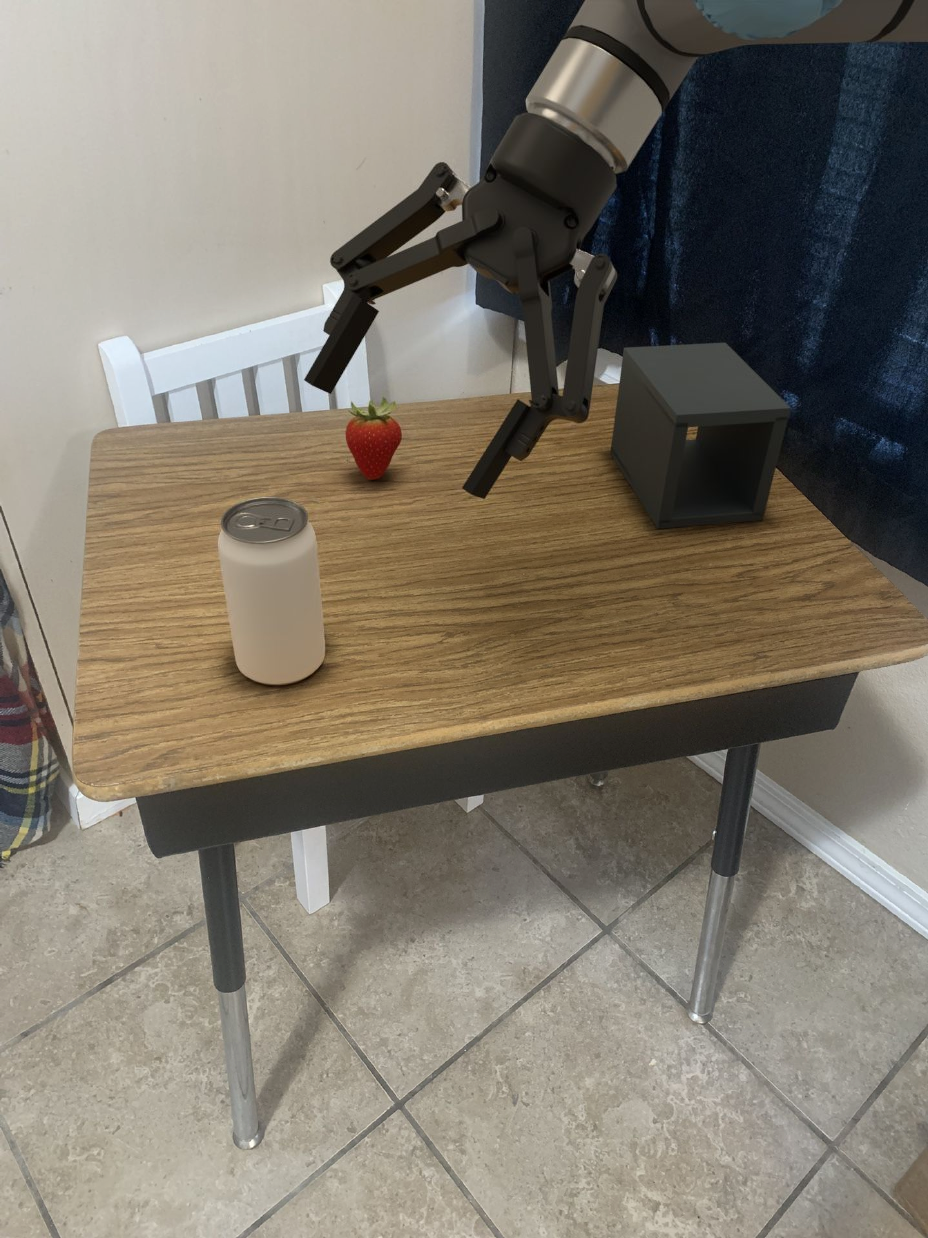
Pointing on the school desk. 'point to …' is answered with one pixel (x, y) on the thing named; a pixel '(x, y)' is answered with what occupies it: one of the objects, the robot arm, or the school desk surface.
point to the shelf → (725, 442)
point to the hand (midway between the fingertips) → (392, 439)
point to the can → (272, 589)
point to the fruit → (373, 438)
